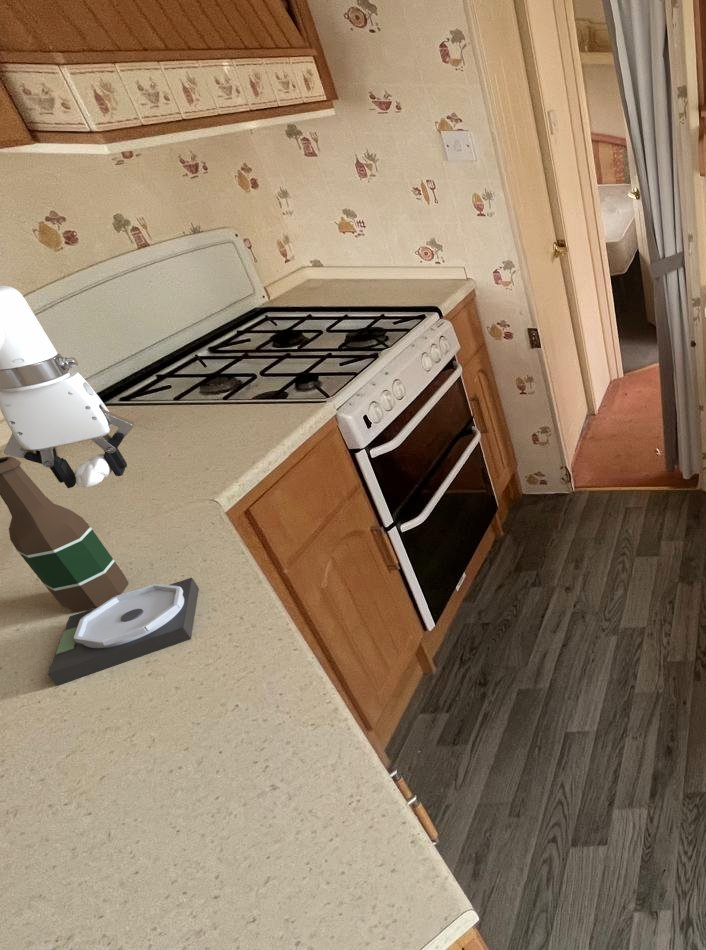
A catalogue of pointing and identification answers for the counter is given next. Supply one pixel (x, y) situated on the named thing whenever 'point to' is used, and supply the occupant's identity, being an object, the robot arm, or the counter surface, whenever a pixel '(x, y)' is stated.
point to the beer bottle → (58, 544)
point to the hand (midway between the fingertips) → (96, 477)
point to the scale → (125, 629)
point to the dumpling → (92, 471)
